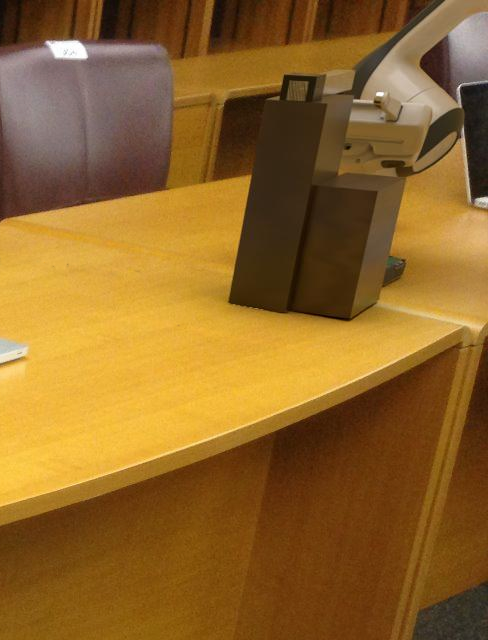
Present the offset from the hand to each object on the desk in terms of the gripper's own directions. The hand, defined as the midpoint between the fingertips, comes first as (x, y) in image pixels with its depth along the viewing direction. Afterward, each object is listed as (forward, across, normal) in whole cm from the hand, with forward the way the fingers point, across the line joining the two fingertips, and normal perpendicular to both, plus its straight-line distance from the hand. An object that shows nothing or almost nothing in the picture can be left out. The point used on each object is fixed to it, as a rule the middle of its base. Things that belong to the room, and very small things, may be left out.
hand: (343, 94), depth 206 cm
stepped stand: (-2, +4, +28) cm, 28 cm away
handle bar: (+10, 0, +5) cm, 11 cm away
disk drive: (-20, +2, +17) cm, 27 cm away
